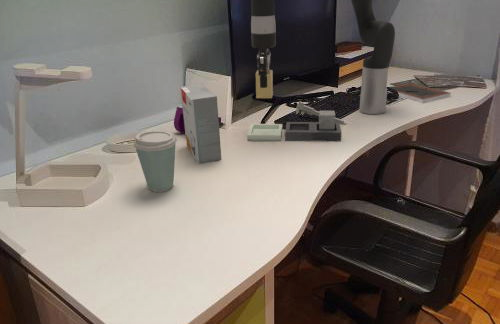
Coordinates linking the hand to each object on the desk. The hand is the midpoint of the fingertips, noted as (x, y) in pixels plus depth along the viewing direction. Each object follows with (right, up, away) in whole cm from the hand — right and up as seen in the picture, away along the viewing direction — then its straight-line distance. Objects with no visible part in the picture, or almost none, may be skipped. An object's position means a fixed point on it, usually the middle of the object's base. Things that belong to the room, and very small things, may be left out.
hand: (264, 85), depth 135 cm
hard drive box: (-19, -22, -5) cm, 30 cm away
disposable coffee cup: (-28, -32, -25) cm, 49 cm away
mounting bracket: (-22, -14, +15) cm, 30 cm away
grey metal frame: (+16, -16, +5) cm, 24 cm away
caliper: (+22, -10, +19) cm, 31 cm away
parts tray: (+1, -16, +7) cm, 17 cm away
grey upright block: (+21, -16, +5) cm, 27 cm away
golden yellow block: (0, -3, +2) cm, 4 cm away
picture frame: (+67, +4, +46) cm, 82 cm away
